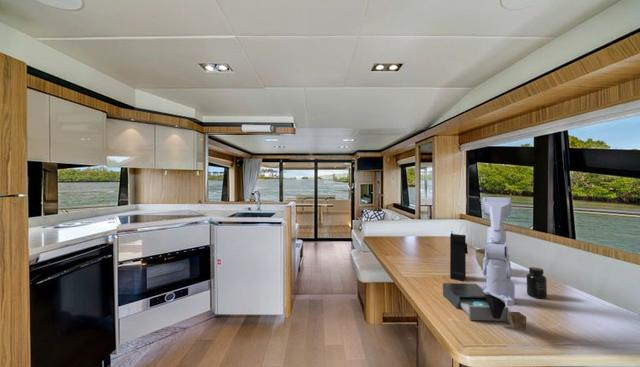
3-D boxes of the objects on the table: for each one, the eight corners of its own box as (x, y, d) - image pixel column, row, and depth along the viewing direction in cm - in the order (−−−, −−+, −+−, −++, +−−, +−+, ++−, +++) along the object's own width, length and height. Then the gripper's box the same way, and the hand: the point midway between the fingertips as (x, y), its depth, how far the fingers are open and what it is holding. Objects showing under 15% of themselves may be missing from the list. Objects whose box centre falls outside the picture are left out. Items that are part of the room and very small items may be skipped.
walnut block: (518, 323, 92) (518, 311, 92) (526, 329, 88) (526, 317, 88) (508, 323, 92) (508, 311, 92) (515, 328, 88) (515, 316, 89)
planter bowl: (495, 278, 138) (495, 257, 138) (468, 268, 153) (468, 250, 153) (516, 274, 144) (516, 254, 144) (487, 266, 159) (487, 248, 159)
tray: (486, 304, 105) (486, 293, 106) (508, 321, 93) (508, 308, 93) (453, 303, 106) (453, 292, 106) (470, 319, 93) (470, 306, 93)
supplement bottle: (547, 296, 115) (547, 268, 116) (546, 300, 110) (546, 272, 111) (527, 291, 120) (527, 265, 120) (525, 296, 115) (525, 268, 115)
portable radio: (467, 278, 137) (468, 230, 137) (467, 281, 132) (467, 232, 132) (451, 275, 141) (451, 228, 141) (449, 278, 136) (449, 230, 136)
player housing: (475, 296, 115) (475, 283, 115) (493, 310, 102) (493, 296, 102) (442, 295, 115) (443, 282, 116) (456, 308, 102) (456, 295, 103)
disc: (490, 309, 99) (490, 303, 99) (490, 315, 94) (490, 309, 94) (473, 305, 102) (473, 300, 102) (472, 311, 97) (472, 305, 97)
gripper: (473, 271, 98) (473, 307, 98) (497, 285, 84) (497, 328, 84) (492, 271, 98) (492, 308, 98) (520, 286, 83) (520, 329, 83)
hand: (496, 317), depth 91 cm, fingers closed
